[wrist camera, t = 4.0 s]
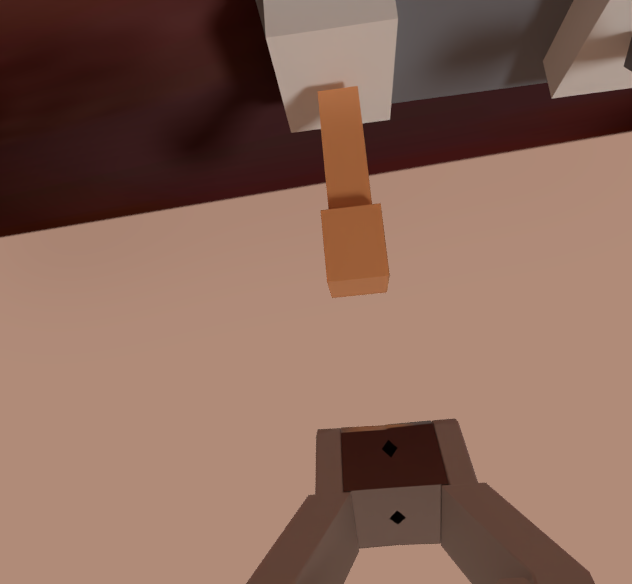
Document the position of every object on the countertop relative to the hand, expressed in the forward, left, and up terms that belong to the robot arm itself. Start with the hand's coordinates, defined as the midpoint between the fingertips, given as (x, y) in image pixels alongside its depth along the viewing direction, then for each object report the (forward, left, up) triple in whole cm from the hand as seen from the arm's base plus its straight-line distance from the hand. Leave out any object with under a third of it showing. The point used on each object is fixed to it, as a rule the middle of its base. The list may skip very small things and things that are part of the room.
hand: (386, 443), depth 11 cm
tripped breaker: (-7, +12, -19) cm, 24 cm away
